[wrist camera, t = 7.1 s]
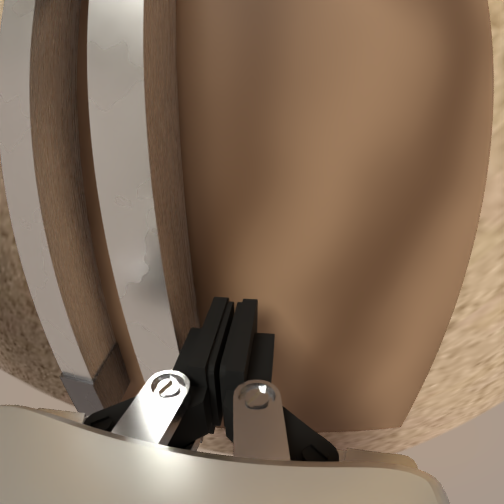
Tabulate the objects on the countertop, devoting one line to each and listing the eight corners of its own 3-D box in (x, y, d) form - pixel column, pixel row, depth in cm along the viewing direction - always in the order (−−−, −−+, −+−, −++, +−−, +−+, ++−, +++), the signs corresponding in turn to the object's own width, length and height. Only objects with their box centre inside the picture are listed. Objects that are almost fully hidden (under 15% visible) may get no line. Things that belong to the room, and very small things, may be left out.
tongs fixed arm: (75, -107, 5) (43, -129, 2) (189, -142, 5) (171, -177, 2) (101, 375, 17) (79, 414, 14) (197, 391, 16) (184, 438, 13)
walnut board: (93, 387, 20) (85, 402, 18) (62, -110, 6) (50, -118, 4) (396, 409, 18) (400, 426, 17) (434, -128, 4) (443, -139, 3)
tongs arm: (102, -91, 6) (67, -118, 3) (184, -115, 6) (162, -153, 3) (147, 387, 16) (128, 431, 14) (212, 394, 16) (201, 443, 13)
